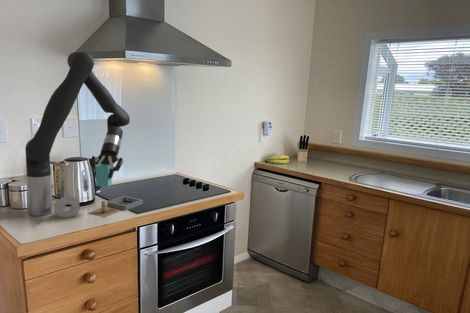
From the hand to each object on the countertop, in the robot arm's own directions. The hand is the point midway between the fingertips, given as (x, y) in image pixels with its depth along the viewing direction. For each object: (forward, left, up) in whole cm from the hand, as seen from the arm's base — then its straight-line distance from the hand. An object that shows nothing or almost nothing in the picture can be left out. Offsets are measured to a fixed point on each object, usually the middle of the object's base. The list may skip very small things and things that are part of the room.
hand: (102, 177), depth 153 cm
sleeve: (-1, +2, -4) cm, 4 cm away
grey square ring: (-1, +15, -18) cm, 23 cm away
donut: (-10, -10, -18) cm, 23 cm away
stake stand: (-1, +2, -18) cm, 18 cm away
